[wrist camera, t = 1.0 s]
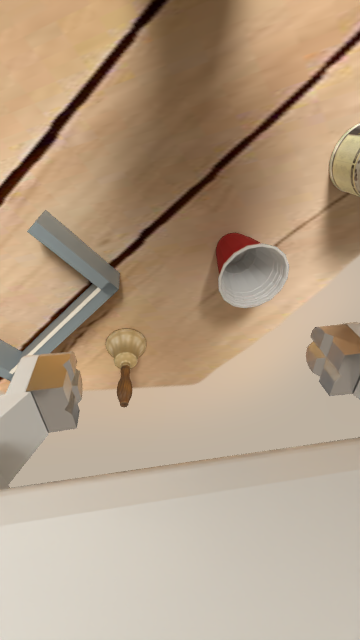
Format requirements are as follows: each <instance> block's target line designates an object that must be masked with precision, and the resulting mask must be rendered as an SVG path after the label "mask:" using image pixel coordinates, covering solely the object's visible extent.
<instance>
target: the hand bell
mask: <svg viewBox="0 0 360 640" xmlns="http://www.w3.org/2000/svg"><path fill="white" fill-rule="evenodd" d="M106 349H107V351H108V353H109V354H110V355H111V356H112V357H114V363H115V365H116V366H117V367H118V368H120V369H121V379H120V381H119V383H118V387H117V396H118V399H119V402H120V405H121V407H127V405H128V403H129V400H130V398H131V396H132V384H131V381H130V378H129V375H130V369H132V368H133V367H135V366H136V364H137V361H138V357H140V356H141V355H142V354H143V353H144V351H145V349H146V340H145V338H144V336H143V335H142V334H141V333H140V332H138V331H136V330H133V329H119V330H116V331H114V332H113V333H111V334H110V335H109V336H108V338H107V340H106Z"/></svg>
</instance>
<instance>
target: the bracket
mask: <svg viewBox="0 0 360 640" xmlns="http://www.w3.org/2000/svg"><path fill="white" fill-rule="evenodd" d="M27 232H28V233H30V234H31V235H32V236H33V237H35V238H36V239H37V240H39V241H40V242H41V243H42V244H44V245H45V246H46V247H47V248H49V249H50V250H51V251H53V252H54V253H55V254H56V255H58V256H59V257H60V258H61V259H63V260H64V261H65V262H67V263H68V264H69V265H70V266H72V267H73V268H74V269H75V270H77V271H78V272H79V273H80V274H82V275H83V276H84V277H86V278H87V279H88V280H89V281H91V282H92V283H93V284H92V285H91V286H90V287H89V288H88V289H87V290H86V291H85V292H84V293H82V294H81V295H80V296H79V297H78V298H77V299H76V300H75V301H74V302H73V303H72V304H71V305H70V306H69V307H68V308H67V309H66V310H65V311H64V312H63V313H62V314H61V315H60V316H59V317H58V318H57V319H56V320H55V321H54V322H53V323H51V324H50V325H49V326H48V327H47V328H46V329H45V330H44V331H43V332H42V333H41V334H40V335H39V336H38V337H37V338H36V339H35V340H34V341H33V342H32V343H31V344H30V345H29V346H28V347H27V348H26V349H25V350H24V351H23V352H21V351H20V350H18V349H16V348H14V347H12V346H11V345H9V344H7V343H5V342H4V341H2V340H0V376H1V377H3V378H5V379H7V380H9V381H11V380H12V378H13V376H14V373H15V371H16V369H17V366H18V364H19V362H20V360H21V358H22V357H24V356H28V355H41V354H50V353H51V352H52V351H53V350H54V349H55V348H56V347H57V346H58V345H59V344H60V343H61V342H63V341H64V340H65V339H66V338H67V337H68V336H69V335H70V334H71V333H72V332H73V331H74V330H76V329H77V328H78V327H79V326H80V325H81V324H82V323H83V322H84V321H85V320H86V319H87V318H89V317H90V316H91V315H92V314H93V313H94V312H95V311H96V310H97V309H98V308H99V307H100V306H101V305H103V304H104V303H105V302H106V301H107V300H108V299H109V298H110V297H111V296H112V295H113V294H114V293H116V292H117V291H118V290H119V278H120V273H119V272H118V271H117V270H115V269H114V268H113V267H112V266H111V265H110V264H108V263H107V262H106V261H105V260H104V259H103V258H101V257H100V256H99V255H98V254H97V253H96V252H94V251H93V250H92V249H91V248H90V247H88V246H87V245H86V244H85V243H84V242H83V241H81V240H80V239H79V238H78V237H77V236H76V235H74V234H73V233H72V232H71V231H70V230H69V229H67V228H66V227H65V226H64V225H63V224H62V223H60V222H59V221H58V220H57V219H56V218H55V217H53V216H52V215H51V214H50V213H49V212H48V211H46V210H45V211H44V212H43V213H42V215H41V216H40V217H39V218H38V219H37V220H36V222H35V223H34V224H33V225H32V226H31V228H30V229H29V230H28V231H27Z"/></svg>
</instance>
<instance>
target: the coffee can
mask: <svg viewBox="0 0 360 640" xmlns="http://www.w3.org/2000/svg"><path fill="white" fill-rule="evenodd" d="M329 173H330V178H331V181H332V182H333V184H334V186H335V187H337V188H338V189H339V190H341V191H343V192H348V193H350V194H353V195H356V196H358V197H360V123H359V124H357V125H355V126H354V127H352V128H351V129H349V130H348V131H347V132H346V133H345V134H344V135H343V136H342V137H341V139H340V140H339V141H338V143H337V145H336V146H335V148H334V150H333V153H332V156H331V159H330V164H329Z"/></svg>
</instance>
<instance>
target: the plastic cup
mask: <svg viewBox="0 0 360 640" xmlns="http://www.w3.org/2000/svg"><path fill="white" fill-rule="evenodd" d="M216 256H217V264H218V269H219V277H218V282H219V292H220V294H221V296H222V297H223V299H224V301H226V302H228V303H229V304H231V305H232V306H235V307H241V308H249V307H255V306H259V305H261V304H263V303H265V302H267V301H269V300H271V299H272V298H273V297H274V296H275V295H276V294H277V293H278V292H279V291H280V290H281V289H282V287H283V285H284V284H285V282H286V280H287V278H288V271H289V264H288V261H287V258H286V255H285V254H284V253H283V252H282V251H281V250H279V249H278V248H277V247H275V246H272V245H267V244H263V243H260V242H258V241H256V240H254V239H252V238H250V237H247V236H244V235H242V234H239V233H230V234H227V235H225V236H224V237H222V238H221V240H220V241H219V242H218V245H217V247H216Z"/></svg>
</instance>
